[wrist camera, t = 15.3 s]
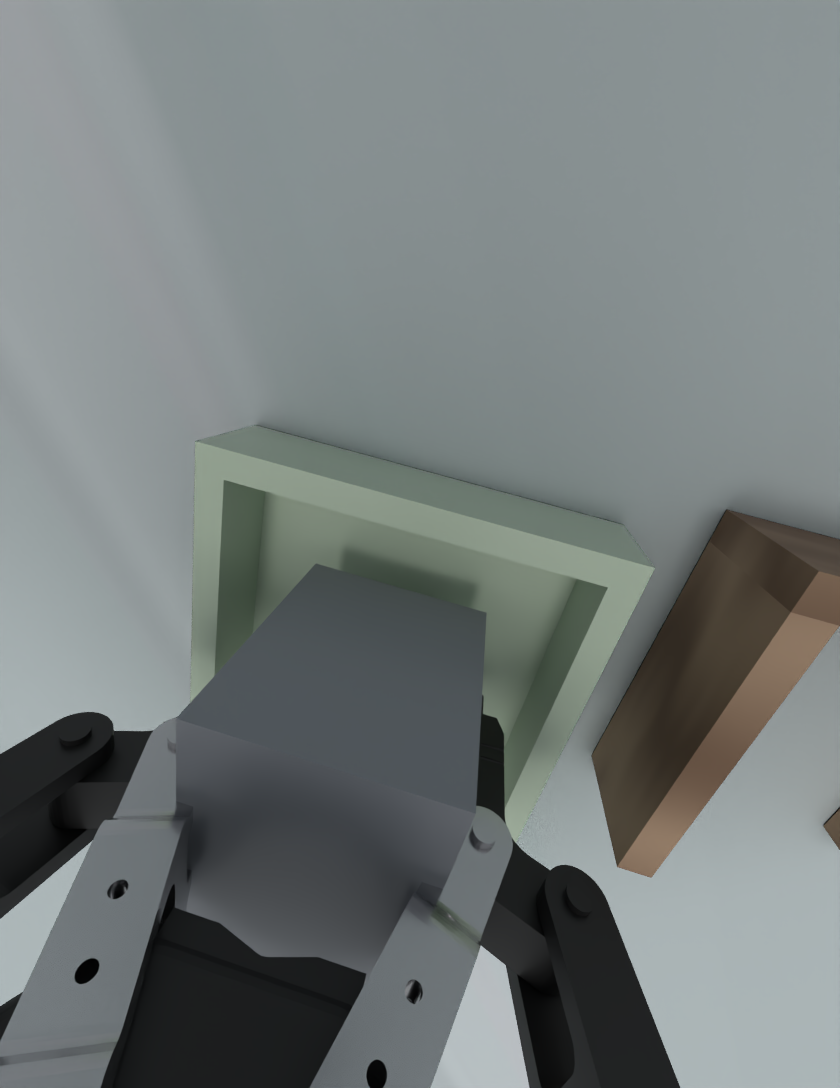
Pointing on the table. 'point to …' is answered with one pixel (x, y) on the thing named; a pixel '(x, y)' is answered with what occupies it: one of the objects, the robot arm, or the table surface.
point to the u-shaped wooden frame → (714, 680)
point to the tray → (418, 574)
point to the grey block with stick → (333, 767)
